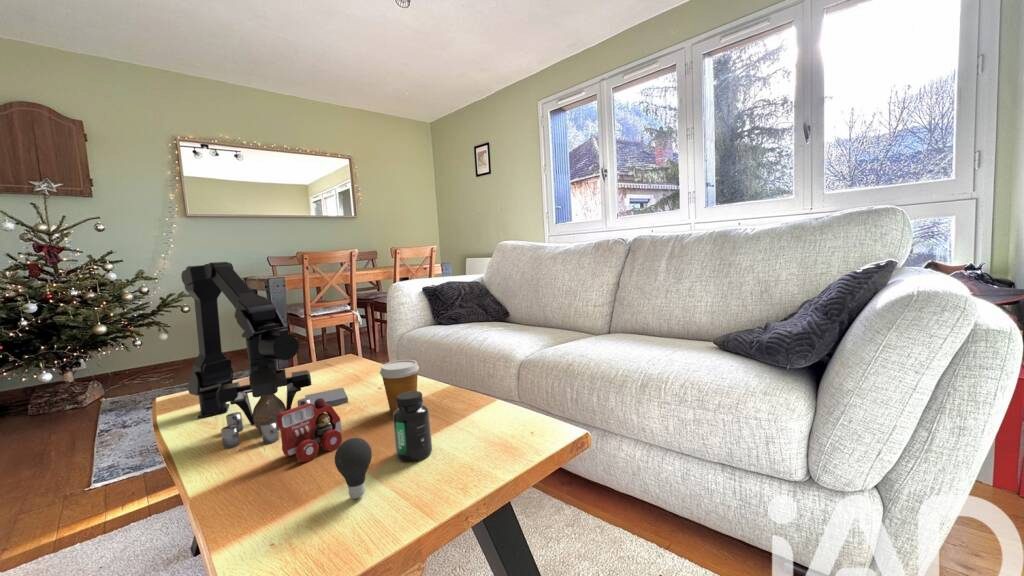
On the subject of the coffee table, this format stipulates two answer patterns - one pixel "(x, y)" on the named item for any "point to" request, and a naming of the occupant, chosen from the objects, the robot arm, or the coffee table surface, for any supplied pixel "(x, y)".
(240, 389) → the robot arm
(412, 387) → the disposable coffee cup
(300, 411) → the toy fire truck
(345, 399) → the mat
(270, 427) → the spacer posts
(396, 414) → the supplement bottle
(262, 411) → the brown textured oval
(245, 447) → the coffee table surface
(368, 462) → the light bulb
